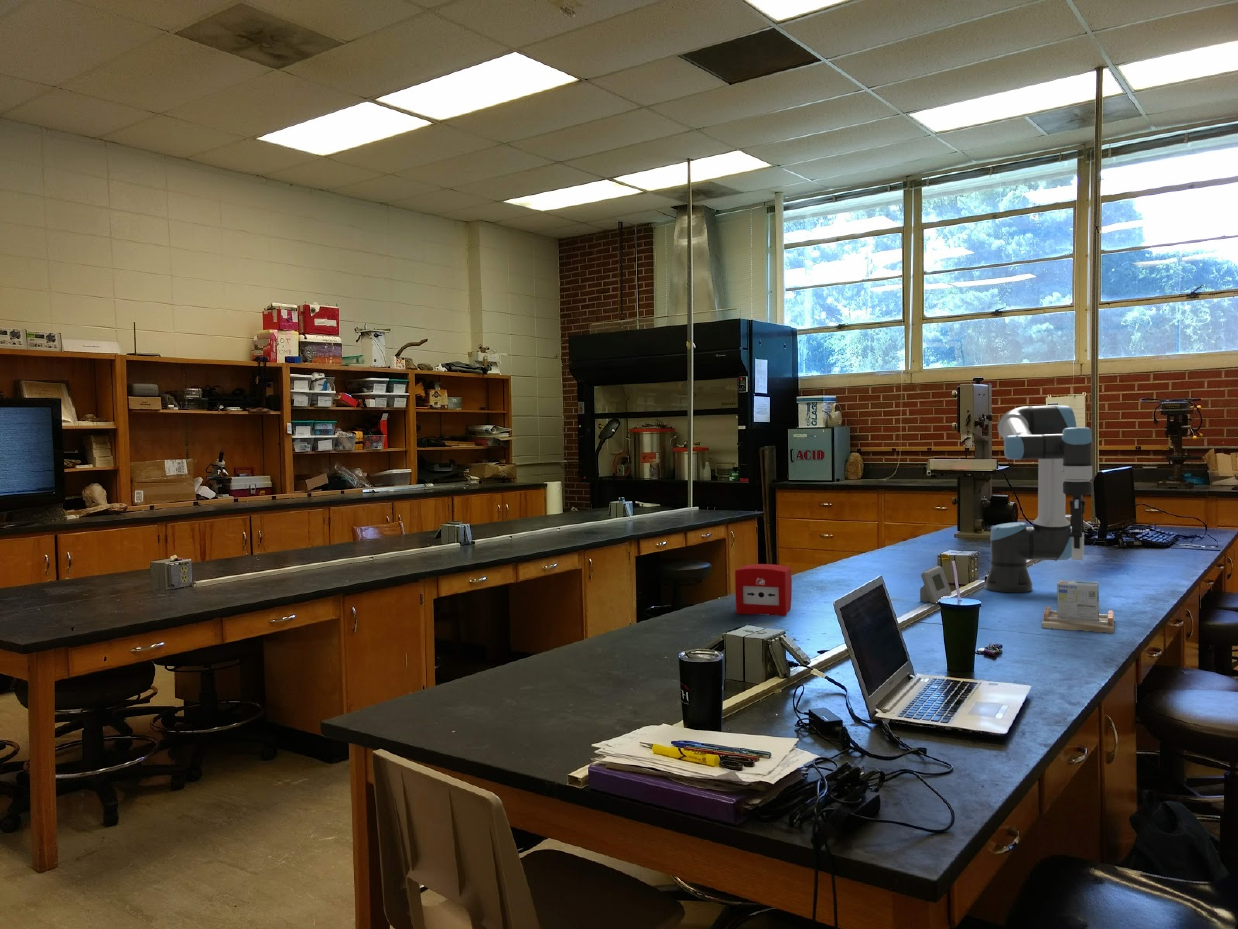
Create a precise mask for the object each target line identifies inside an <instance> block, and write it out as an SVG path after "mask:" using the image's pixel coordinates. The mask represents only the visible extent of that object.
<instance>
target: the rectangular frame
mask: <svg viewBox="0 0 1238 929" xmlns="http://www.w3.org/2000/svg"><path fill="white" fill-rule="evenodd" d="M1050 614H1058V610H1052V607H1051V606H1048V605H1047V606H1045V609H1044V612H1043V618H1044V620H1050V621H1063V622H1076V623H1090V624H1103V625H1113V615H1114V610H1108V614H1107V613H1106V614H1104V613H1103V614H1102V613H1099V617H1101V618H1108V621H1096V620H1083V619H1069V618H1056V617H1050Z"/></svg>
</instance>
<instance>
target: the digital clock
mask: <svg viewBox="0 0 1238 929" xmlns="http://www.w3.org/2000/svg"><path fill="white" fill-rule="evenodd" d="M920 577H921V579H922V582H923V586H921V587H920V589H919V601H920V600H921V601H920V602H924V601H931V602H932V603H931V602H930V603H931V604H933V603H936V602H937V603H936V604H939V603H938V600H939V599H941V597H943V596H950V597H951V595H952V590H951V588H950V585H949V583H948V582H949V581H948V580H947V577H946V575H945V572H944V569H943V567H942V566H940V565H935V566H933V567H931V568H928V569H926V570H924V571H923V572H921V575H920Z"/></svg>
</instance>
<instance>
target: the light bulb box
mask: <svg viewBox="0 0 1238 929" xmlns="http://www.w3.org/2000/svg"><path fill="white" fill-rule="evenodd" d="M1056 586H1057V587H1056V593H1057V594H1056V595H1057V596H1056V597H1057V598H1056V599H1057V606H1056V607H1057V611H1058V618H1069V619H1083V620H1096V621H1098V620H1099V614H1100V594H1099V593H1100V592H1099V589H1100V588H1099V582H1098V581H1080V580H1061V579H1059V580H1058V582H1057V584H1056Z"/></svg>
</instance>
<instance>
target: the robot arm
mask: <svg viewBox="0 0 1238 929" xmlns="http://www.w3.org/2000/svg"><path fill="white" fill-rule="evenodd" d="M996 427H997V428H996V429H997V432H998V434H999V436H1000V438H1002V440H1003V452H1004V457H1005V459H1006V460H1016V461H1021V460H1038V461H1037V462H1038V463H1037V464H1038V467H1037V469H1038V470H1037V473H1038V475H1037V476H1038V478H1037V480H1038V483H1037V484H1038V485H1037V488H1038V490H1037V497H1038V498H1037V501H1038V502H1037V503H1038V504H1037V517H1036V518H1035V519H1034V520H1033V522H1032V526H1028V525H1027V523H1026V522H1022V521H1021V522H1020V521H1019V522H1015V521H1014V522H1007V523H1006V522H1005V523H999V524H996V525H994V526H992V527H991V530H990V538H989V540H990V568H989V571H988V574H987V578H986V580H985V589H987V590H990V591H993V592H1001V593H1026V592H1031V591H1033V582H1032V578H1031V576H1030V574H1029V571H1028V567H1027V564H1028V563H1027V561H1055V562H1057V561H1067V560H1069V559H1071V561H1073V560H1074V561H1075V560H1077V561H1083V559H1084V558H1083V557H1084V555H1085V533H1087V529H1085V524H1084V515H1085V512H1086V511H1085V507H1086V500H1085V498H1084V497H1083V495H1085V496H1087V495H1088V496H1089V495H1091V494H1093V482H1092V481H1091V480H1092V479H1093V461H1092V460H1093V458H1092V456H1093V451H1092V450H1093V444H1092V443H1093V437H1092V436H1093V435H1092V429H1091V427H1088V426H1087V427H1086V426H1085V427H1083V426H1081V427H1078V426H1077V421H1076V416H1075V412H1074V411H1073V408H1072V407H1071V406H1069V405H1061V404H1059V405H1057V404H1054V405H1053V404H1052V405H1051V404H1050V405H1034V406H1033V405H1031V406H1029V405H1028V406H1025V405H1024V406H1020V407H1015V408H1013V409H1011V410H1008V411H1006V412H1005V413H1004V414H1003V415H1002V416H1001V417H1000V418H998V422H997V425H996ZM1066 495H1072V499H1070V500H1069V507H1070V510H1069V511H1070V516H1071V522H1070V521H1069V520H1068V519H1067V517H1066V505H1067V504H1066V501H1067V500H1066Z"/></svg>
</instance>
